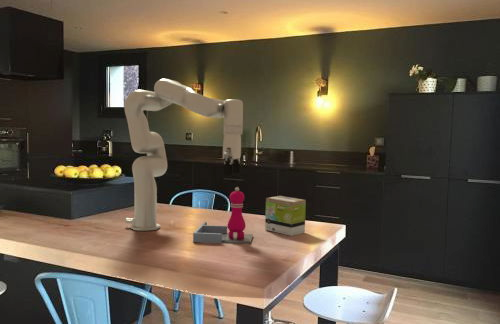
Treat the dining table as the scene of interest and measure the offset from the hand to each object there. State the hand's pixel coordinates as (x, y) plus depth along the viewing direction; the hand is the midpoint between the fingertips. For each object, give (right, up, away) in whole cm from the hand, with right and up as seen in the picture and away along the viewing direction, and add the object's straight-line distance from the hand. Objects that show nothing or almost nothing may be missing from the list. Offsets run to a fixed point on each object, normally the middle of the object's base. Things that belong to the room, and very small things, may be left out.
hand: (232, 173), depth 179 cm
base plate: (+2, -26, 0) cm, 26 cm away
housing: (-8, -26, +5) cm, 27 cm away
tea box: (+22, -26, +16) cm, 38 cm away
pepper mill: (+2, -26, 0) cm, 26 cm away
